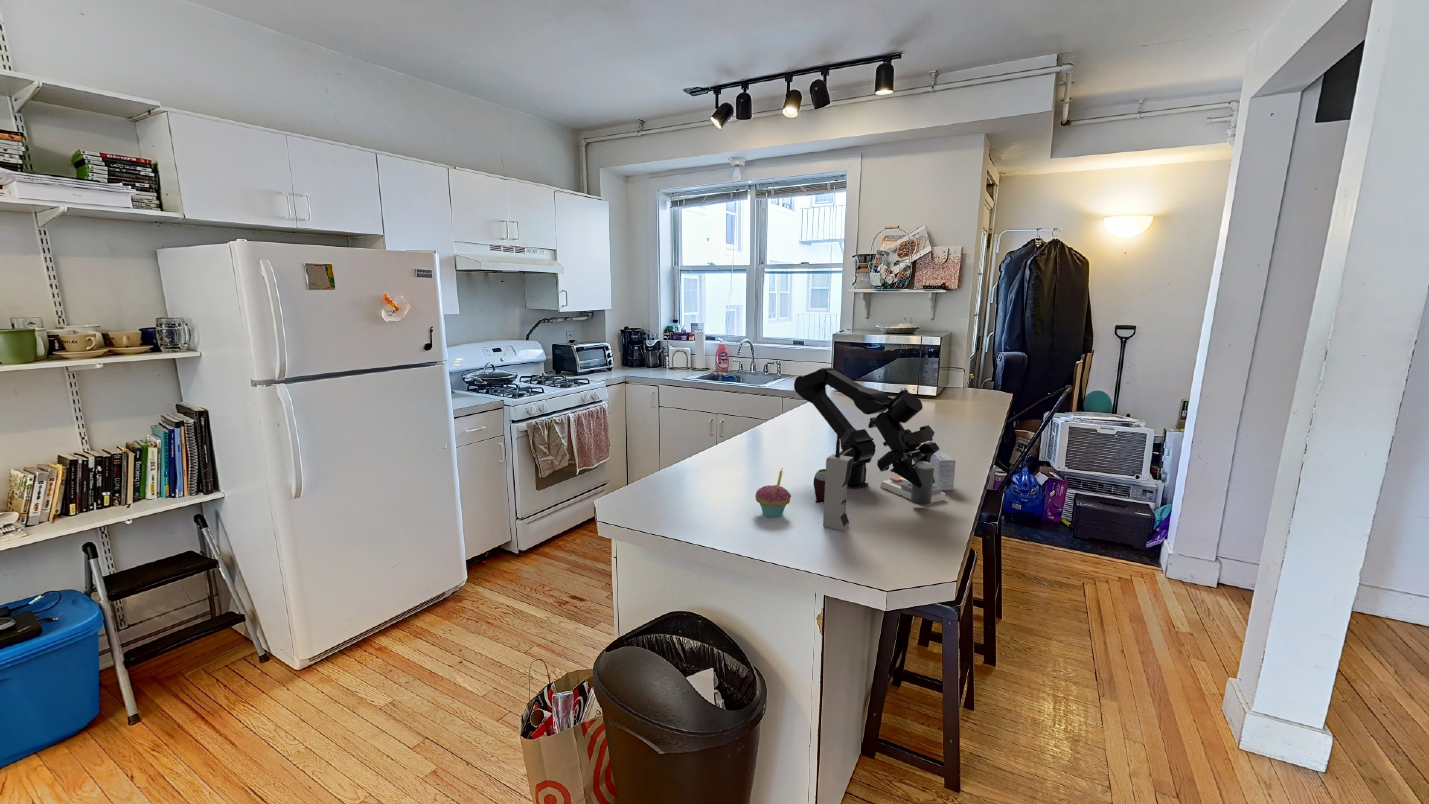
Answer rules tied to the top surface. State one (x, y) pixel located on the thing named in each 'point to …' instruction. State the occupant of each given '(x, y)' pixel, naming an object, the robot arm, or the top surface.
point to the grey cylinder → (923, 483)
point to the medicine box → (943, 470)
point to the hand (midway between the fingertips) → (927, 485)
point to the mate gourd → (821, 483)
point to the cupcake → (773, 499)
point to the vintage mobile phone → (836, 488)
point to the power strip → (909, 488)
